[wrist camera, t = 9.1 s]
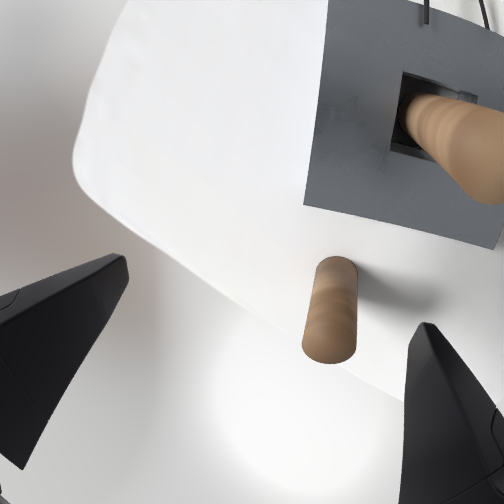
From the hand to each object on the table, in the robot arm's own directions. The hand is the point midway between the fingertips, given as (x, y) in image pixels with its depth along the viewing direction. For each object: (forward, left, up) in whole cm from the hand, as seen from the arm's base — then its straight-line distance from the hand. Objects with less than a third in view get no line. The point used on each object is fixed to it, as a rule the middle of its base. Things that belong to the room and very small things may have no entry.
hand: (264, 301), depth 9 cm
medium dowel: (-3, +7, -12) cm, 15 cm away
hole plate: (-6, -5, -12) cm, 15 cm away
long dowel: (-6, -5, -12) cm, 15 cm away
